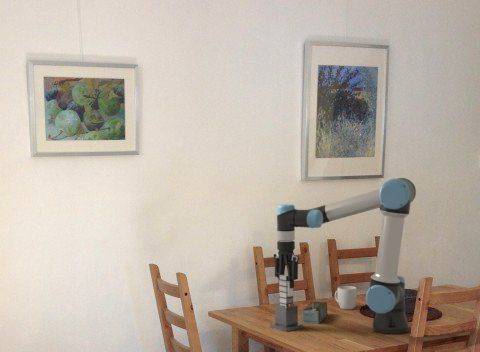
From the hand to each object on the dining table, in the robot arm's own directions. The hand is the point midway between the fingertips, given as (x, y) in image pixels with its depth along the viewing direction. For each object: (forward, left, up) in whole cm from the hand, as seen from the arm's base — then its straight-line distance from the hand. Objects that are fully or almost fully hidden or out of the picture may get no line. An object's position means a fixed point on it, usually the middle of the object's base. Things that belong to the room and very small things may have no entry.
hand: (286, 294), depth 307 cm
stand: (0, 0, -14) cm, 14 cm away
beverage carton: (+3, -21, -15) cm, 26 cm away
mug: (+10, -48, -14) cm, 51 cm away
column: (0, 0, -11) cm, 11 cm away
